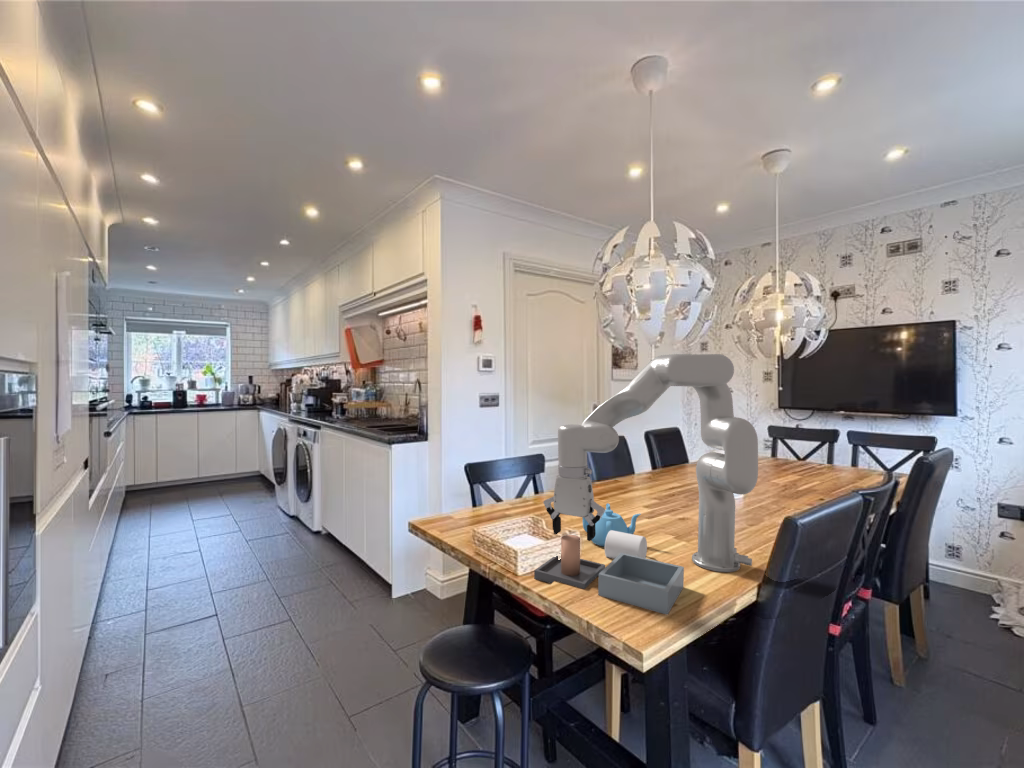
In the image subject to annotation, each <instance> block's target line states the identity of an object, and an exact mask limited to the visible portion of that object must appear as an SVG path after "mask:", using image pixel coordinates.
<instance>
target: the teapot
mask: <svg viewBox="0 0 1024 768" xmlns="http://www.w3.org/2000/svg"><path fill="white" fill-rule="evenodd" d="M641 515H642V513H635V514H633V516H632V517H631V520H630V521H631V522H630V525H629V526H628V525H627V523H626V521H625V520H624V518H623V517H622V516H621V514H619V513H616V512H614V510H612V509H611V504H610V503H606V504H605V512H604V514H603V516H602V518H601V519H600V520H599V521H598V522H597V523H595V532H596V534H595V537H594V538H593V539H592V540H591V541H590V542H592V543H593V544H595V545H596V546H599V547H603V548H605V541H606V537H607V534H608V532H609V531H610V530H613V531H618V532H623V533H628V534H633V535H635V531H636V523H637V518H638V517H639V516H641ZM581 518H582V528H583V530H584V531H585V533H587V525H589V524H588V522H587V521H586V519H585V518H584V517H581Z"/></svg>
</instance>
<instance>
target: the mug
mask: <svg viewBox="0 0 1024 768" xmlns="http://www.w3.org/2000/svg"><path fill="white" fill-rule="evenodd" d="M646 538H647V537H646V536H643V535H637V534H628V533H623V532H618V531H613V530H610V531H609V532H608V534H607V537H606V541H605V547H604V555H605V557H606V558H607V559H613V560H614V559H615V558H616V557H617V556H618V555H619V554H620V553H624V554H629V555H633V556H638V557H642V558H647V552H648V541H647V539H646Z"/></svg>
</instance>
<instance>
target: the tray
mask: <svg viewBox="0 0 1024 768" xmlns="http://www.w3.org/2000/svg"><path fill="white" fill-rule="evenodd" d="M605 567H606V564H604V563H599V562H596V561H592V560H587V559H584V558H580V574H579V575H576V576H567V575H564V574H562V573H561V559H560V560H558V556H556V557H554V556H553V557H551V558H550V559H548V560H547V561H545V562H544V563H543V564H541V565H540V566H538V567H537V568H536V569H534V570H533V571H534V572H533V577H534V578H533V579H534V580H537V581H542V582H545V583H548V584H553V583H554V582H557V583H561V584H565V585H568V586H572V587H575V588H579V589H582V590H585V589H586V588H587V587H589V586H590V584H592V583H593V581H594V580H596V579H597V578H599V573H600V572H601V571H602V570H603V569H604V568H605Z"/></svg>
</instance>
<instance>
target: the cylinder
mask: <svg viewBox="0 0 1024 768" xmlns="http://www.w3.org/2000/svg"><path fill="white" fill-rule="evenodd" d="M560 538H561V541H560V542H561V543H560V546H561V547H560V549H561V550H560V552H561V553H560V554H561V573H562V574H564V575H567V576H576V575H579V574H580V559H581V537H580V536H578V535H574V534H565V535H562V536H561V537H560Z"/></svg>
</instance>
